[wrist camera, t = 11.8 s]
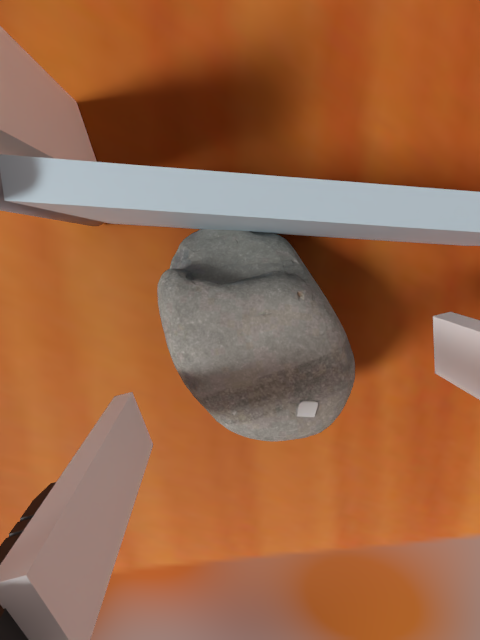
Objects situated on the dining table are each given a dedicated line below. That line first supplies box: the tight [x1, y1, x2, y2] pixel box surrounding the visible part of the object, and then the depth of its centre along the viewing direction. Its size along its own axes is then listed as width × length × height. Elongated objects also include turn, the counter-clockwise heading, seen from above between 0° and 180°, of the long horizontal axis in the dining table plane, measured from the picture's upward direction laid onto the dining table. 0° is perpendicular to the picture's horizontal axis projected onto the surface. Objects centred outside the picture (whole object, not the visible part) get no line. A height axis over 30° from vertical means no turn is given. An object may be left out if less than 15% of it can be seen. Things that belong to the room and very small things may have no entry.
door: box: [0, 154, 480, 246], centre depth 11 cm, size 23×3×8 cm, turn 87°
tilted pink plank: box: [0, 26, 97, 162], centre depth 10 cm, size 4×2×10 cm, turn 13°
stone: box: [158, 229, 355, 441], centre depth 15 cm, size 9×9×10 cm
